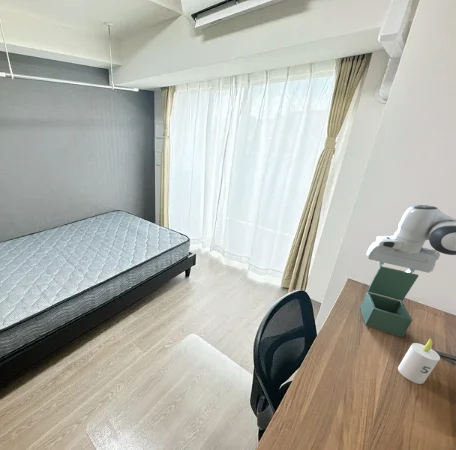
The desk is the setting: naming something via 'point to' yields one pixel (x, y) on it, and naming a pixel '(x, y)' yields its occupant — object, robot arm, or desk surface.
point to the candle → (419, 362)
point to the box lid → (392, 283)
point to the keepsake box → (385, 314)
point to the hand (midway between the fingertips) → (391, 273)
